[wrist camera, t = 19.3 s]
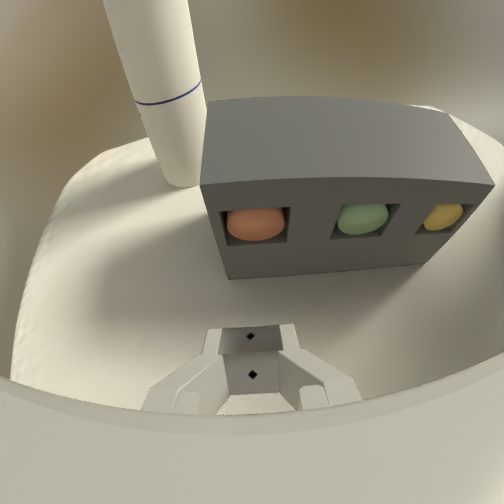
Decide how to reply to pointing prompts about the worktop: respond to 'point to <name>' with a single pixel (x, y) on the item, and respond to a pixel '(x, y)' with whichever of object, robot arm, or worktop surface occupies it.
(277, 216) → the terracotta button
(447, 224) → the ochre button
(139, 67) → the cylindrical container
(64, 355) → the worktop surface
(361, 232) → the sage green button
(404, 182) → the control panel
